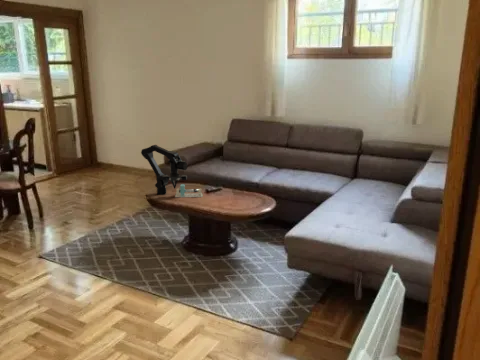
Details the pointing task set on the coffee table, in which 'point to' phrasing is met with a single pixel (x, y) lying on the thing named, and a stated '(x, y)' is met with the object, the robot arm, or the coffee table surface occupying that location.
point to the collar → (182, 189)
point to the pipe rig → (189, 193)
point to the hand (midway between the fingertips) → (174, 188)
